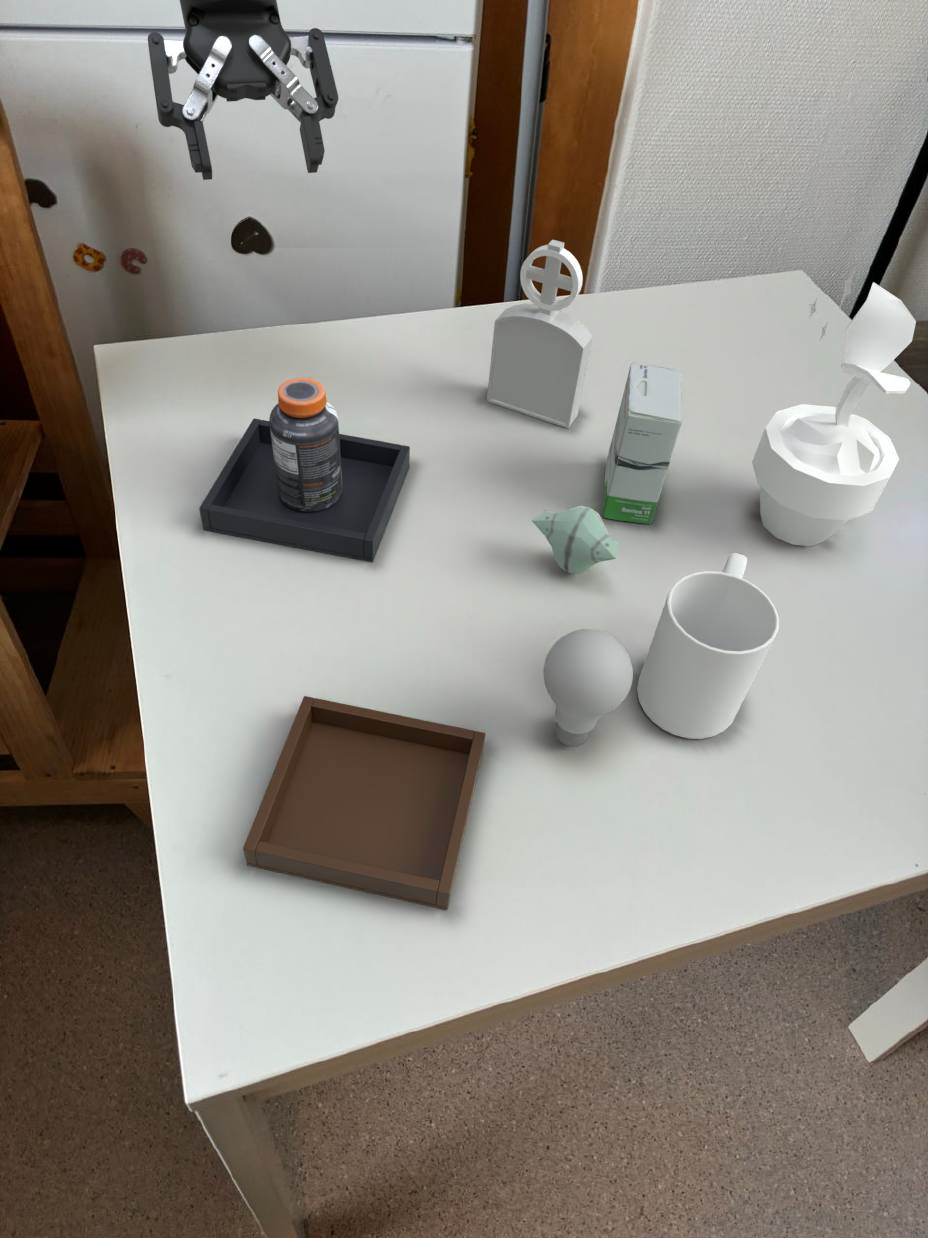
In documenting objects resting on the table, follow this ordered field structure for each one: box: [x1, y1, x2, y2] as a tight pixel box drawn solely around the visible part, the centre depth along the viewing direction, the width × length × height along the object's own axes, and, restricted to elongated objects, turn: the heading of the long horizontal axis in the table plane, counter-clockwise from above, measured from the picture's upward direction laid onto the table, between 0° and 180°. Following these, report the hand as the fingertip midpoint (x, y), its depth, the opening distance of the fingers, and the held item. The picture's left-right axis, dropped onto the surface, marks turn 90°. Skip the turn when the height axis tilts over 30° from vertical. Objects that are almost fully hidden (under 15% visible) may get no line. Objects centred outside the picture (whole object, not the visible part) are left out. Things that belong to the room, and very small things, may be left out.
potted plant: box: [751, 264, 917, 547], centre depth 76 cm, size 13×12×25 cm
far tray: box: [198, 418, 411, 563], centre depth 83 cm, size 16×14×3 cm
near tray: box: [242, 695, 486, 911], centre depth 62 cm, size 14×13×2 cm
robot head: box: [531, 505, 620, 576], centre depth 78 cm, size 8×4×7 cm, turn 58°
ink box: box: [602, 361, 683, 525], centre depth 83 cm, size 9×5×12 cm, turn 171°
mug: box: [636, 552, 780, 740], centre depth 69 cm, size 12×8×10 cm, turn 157°
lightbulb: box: [542, 628, 634, 747], centre depth 64 cm, size 6×6×11 cm
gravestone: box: [486, 239, 594, 429], centre depth 89 cm, size 3×9×18 cm, turn 64°
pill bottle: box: [268, 377, 342, 512], centre depth 80 cm, size 6×6×11 cm
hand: (261, 172), depth 73 cm, fingers open, 8 cm apart
